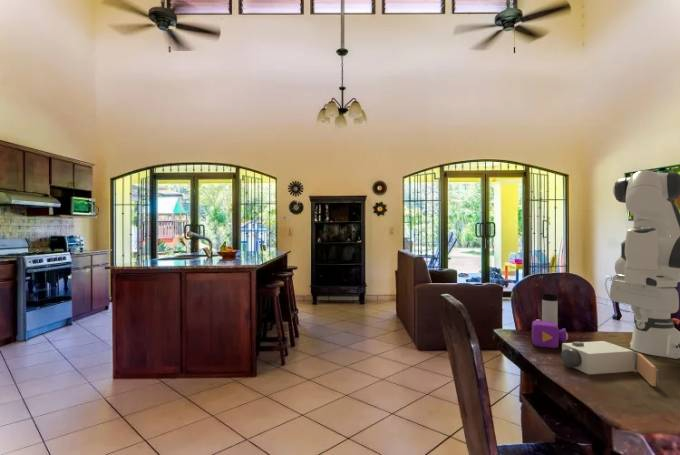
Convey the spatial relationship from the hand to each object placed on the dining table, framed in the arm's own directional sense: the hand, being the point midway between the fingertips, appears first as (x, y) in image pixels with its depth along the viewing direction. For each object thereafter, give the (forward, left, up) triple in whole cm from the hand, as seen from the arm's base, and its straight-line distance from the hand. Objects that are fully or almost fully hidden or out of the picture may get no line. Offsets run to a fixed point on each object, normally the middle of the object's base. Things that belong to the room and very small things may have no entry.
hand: (641, 321), depth 122 cm
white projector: (+2, -16, -20) cm, 26 cm away
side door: (-5, -3, -19) cm, 21 cm away
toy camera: (0, -41, -20) cm, 46 cm away
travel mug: (-10, -53, -20) cm, 58 cm away
